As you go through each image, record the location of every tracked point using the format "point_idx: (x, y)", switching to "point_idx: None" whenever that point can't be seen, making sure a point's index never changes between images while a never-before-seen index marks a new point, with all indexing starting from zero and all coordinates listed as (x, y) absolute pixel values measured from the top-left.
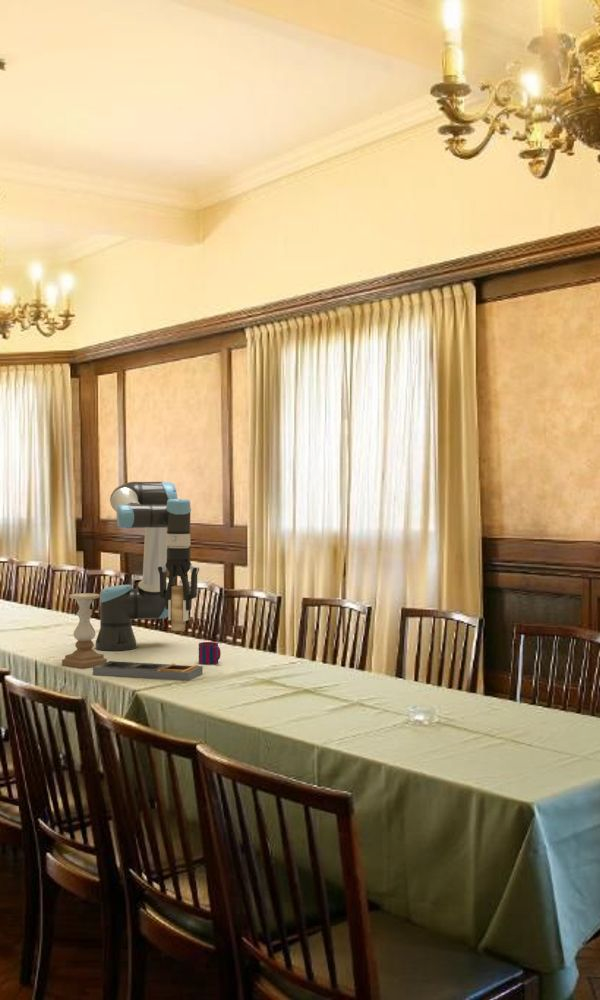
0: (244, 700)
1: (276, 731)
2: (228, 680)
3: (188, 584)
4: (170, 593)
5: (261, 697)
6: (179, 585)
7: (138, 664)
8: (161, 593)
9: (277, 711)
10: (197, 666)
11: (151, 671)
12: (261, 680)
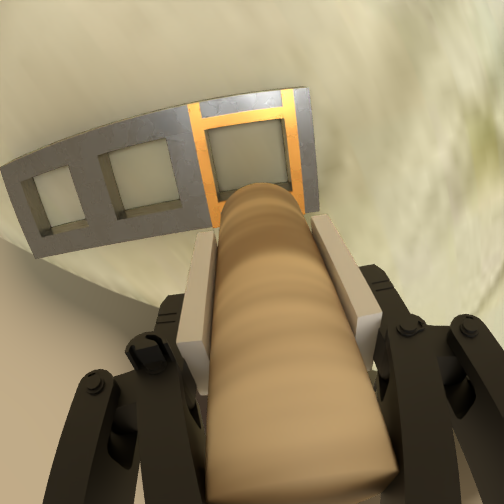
0: (465, 310)
1: None
2: (412, 153)
3: (450, 475)
4: (200, 434)
5: (487, 281)
6: (272, 482)
7: (88, 164)
8: (125, 443)
9: (496, 334)
10: (293, 97)
11: (193, 228)
12: (477, 128)
